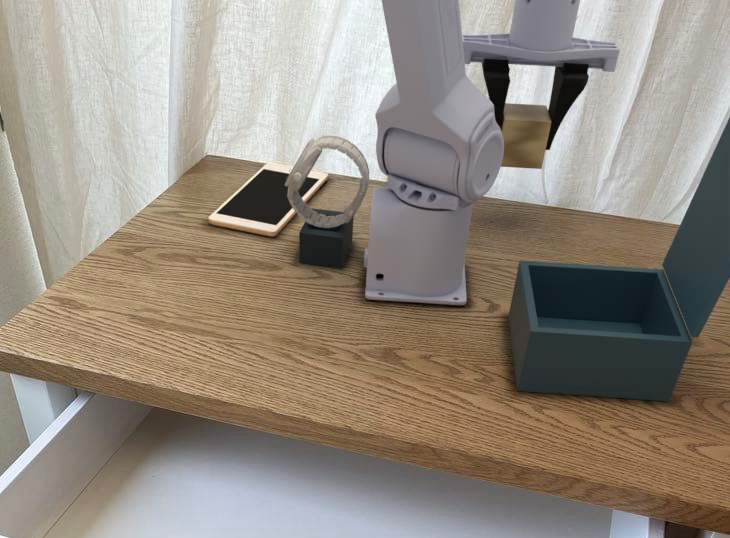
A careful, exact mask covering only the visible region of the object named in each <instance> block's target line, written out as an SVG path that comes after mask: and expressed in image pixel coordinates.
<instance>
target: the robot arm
mask: <svg viewBox="0 0 730 538" xmlns="http://www.w3.org/2000/svg"><path fill="white" fill-rule="evenodd" d="M459 1H460V0H381V4H382V10H383V15H384V21H385V26H386V32H387V33H386V34H387V38H388V42H389V49H390V54H391V59H392V60H391V61H392V64H393V70H394V75H395V81H396V83H395V84H394V85H392V86H391V87H390V89H389V90H388V91H387V93H386V94H385V95H384V97H383V98H382V100H381V101H380V103H379V105H378V108H377V110H376V112H375V113H374V114H375V116H374V117H375V122H376V126H377V137H376V143H375V145H376V146H375V154H376V162H377V165H378V168H379V170H380V171H381V173H382V174H383V175H385V176H387V180H386V181H387V182H386V186H379V187H373V188H372V190H371V191H372V193H371V202H370V215H369V228H368V229H369V230H368V245H367V246H368V247H365V248H364V256H363V269H364V268H366V277H365V278H366V279H365V292H364V297H365V298H366V299H367V300H374V301H388V302H403V303H405V302H406V303H419V304H420V303H421V304H435V305H450V306H466V304H467V301H468V299H467V298H468V297H467V283H466V266H465V265H466V264H465V260H466V254H467V249H468V242H469V234H470V228H471V221H472V215H473V208H474V203H476V202H478V201H480V200H481V199H482V197H484V196H485V195H486V194H487V193H488V192H490V190H491V189H492V187H493V185H494V184H495V182H496V180H497V178H498V175H499V172H500V170H501V168H502V167H501V163H502V159H503V154H504V140H503V137H502V132H501V130H502V120H503V112H504V107H505V103H507V102H506V101H507V97H508V94H509V93H508V92H509V88H510V83H511V78H510V71H511V68H510V65H519V66H520V65H521V66H537V67H554V74H553V80H552V87H551V93H550V99H549V105H548V108H547V109H548V112H549V116H550V119H551V126H550V131H549V136H548V141H547V145H546V150H545V151H550V150H551V148H552V144H553V142H554V139H555V137H556V135H557V133H558V130H559V128H560V127H561V124H562V123H563V121H564V120H565V117H566V116H567V114H568V113H569V111H570V109H571V107H572V106H573V105H574V103H575V102H576V101H577V99H578V98H579V96H580V95H581V94H582V93H583V91H584V90H585V88H586V86H587V85H588V82H589V78H590V75H589V73H588V72H589V69H594V70H602V71H603V72H610V73H614V72H615V71H616V67H617V63H618V59H619V54H620V51H621V49H620V47H619V45H618V43H617V42H609V41H601V40H600V41H599V40H598V41H597V40H593V39H586V38H579V37H573V36H574V32H575V27H576V23H577V17H578V13H579V8H580V3H581V0H514V5H513V10H512V16H511V24H510V29H509V33H495V34H494V33H493V34H492V33H491V34H463V33H462V20H461V12H460V10H461V9H460V2H459ZM471 63H478V64H479V63H481V69H482V75H483V79H484V81H485V82H484V83H485V86H486V91H487V95H488V97H487V95H486V94H485V93H484V92H483V91H482V90H481V89H480V88H478V86H476V84H475V83H474V82H473V81H472V80H471V79H470V78H469V77H468V76H467V71H466V65H470V64H471Z"/></svg>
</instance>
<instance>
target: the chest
mask: <svg viewBox="0 0 730 538" xmlns="http://www.w3.org/2000/svg"><path fill="white" fill-rule="evenodd" d="M517 266H518V267H517V272H516V277H515V281H514V287H513V291H512V297H511V301H510V306H509V310H508V316H507V321H508V329H509V337H510V345H511V353H512V362H513V369H514V378H515V385H516V392H525V393H526V392H527V393H539V394H540V393H542V394H553V395H554V394H555V395H569V396H583V397H597V398H610V399H612V398H613V399H614V398H615V399H625V400H626V399H627V400H640V401H641V400H642V401H657V402H670V399H671V397H672V395H673V392H674V390H675V387H676V385H677V382H678V379H679V377H680V375H681V372H682V370H683V368H684V364H685V362H686V359H687V357H688V354H689V352H690V349H691V347H692V345H693V340H692V339H693V338H692V337H691V336H690V333H689V331H688V328H687V326H686V323H685V321H684V318H683V316H682V313H681V311H680V308H679V306H678V303H677V301H676V298H675V296H674V293H673V291H672V288H671V286H670V283H669V281H668V278H667V276H666V273H665V271H664V268H663V269H662V268H648V267H647V268H645V267H631V266H630V267H629V266H616V265H615V266H614V265H599V264H597V265H596V264H585V263H584V264H581V263H567V262H566V263H565V262H550V261H549V262H548V261H536V260H535V261H533V260H519V262H518V265H517Z"/></svg>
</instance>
